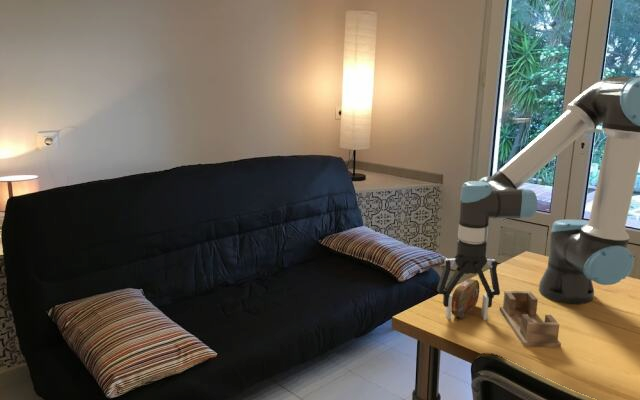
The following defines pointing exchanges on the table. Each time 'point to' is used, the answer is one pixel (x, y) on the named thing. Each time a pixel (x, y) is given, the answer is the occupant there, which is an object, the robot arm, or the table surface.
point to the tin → (465, 298)
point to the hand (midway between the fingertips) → (466, 317)
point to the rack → (529, 320)
